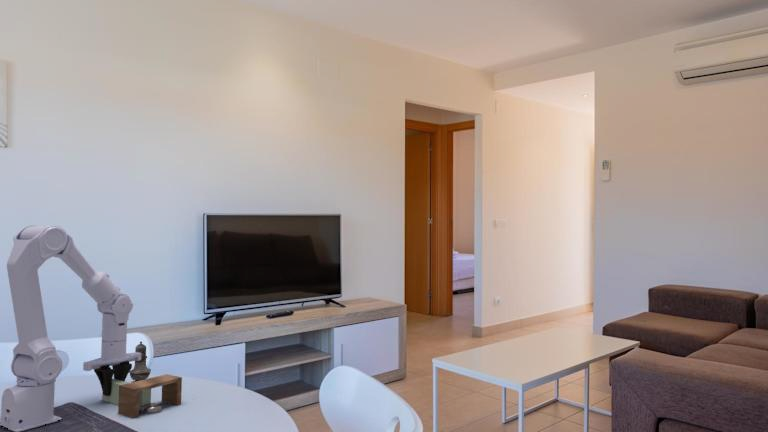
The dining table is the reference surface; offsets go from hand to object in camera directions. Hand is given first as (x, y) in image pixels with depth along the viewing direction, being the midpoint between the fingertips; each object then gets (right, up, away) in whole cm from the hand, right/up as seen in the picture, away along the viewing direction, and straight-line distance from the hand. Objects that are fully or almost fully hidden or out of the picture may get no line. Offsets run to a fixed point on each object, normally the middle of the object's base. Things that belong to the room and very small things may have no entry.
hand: (112, 393), depth 137 cm
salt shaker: (0, -3, +16) cm, 17 cm away
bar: (+5, -2, -3) cm, 6 cm away
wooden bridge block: (+13, -2, -6) cm, 14 cm away
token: (+14, -2, -8) cm, 16 cm away
